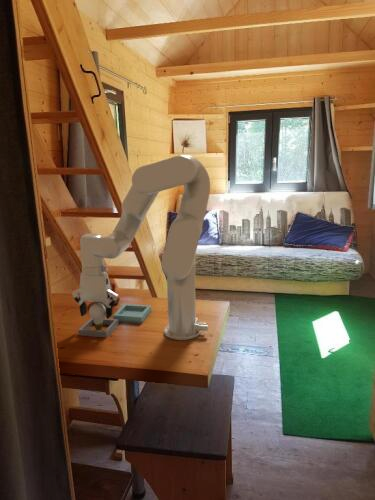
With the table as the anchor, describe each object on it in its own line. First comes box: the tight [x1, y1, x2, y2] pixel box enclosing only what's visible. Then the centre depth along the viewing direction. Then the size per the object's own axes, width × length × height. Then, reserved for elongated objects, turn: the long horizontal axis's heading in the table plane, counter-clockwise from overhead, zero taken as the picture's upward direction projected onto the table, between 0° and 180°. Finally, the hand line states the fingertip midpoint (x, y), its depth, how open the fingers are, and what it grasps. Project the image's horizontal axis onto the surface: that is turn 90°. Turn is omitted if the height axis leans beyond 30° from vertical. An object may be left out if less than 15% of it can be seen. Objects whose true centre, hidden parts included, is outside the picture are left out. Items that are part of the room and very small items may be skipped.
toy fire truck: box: [94, 281, 120, 308], centre depth 158 cm, size 7×12×10 cm, turn 48°
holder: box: [77, 317, 120, 338], centre depth 135 cm, size 10×10×2 cm
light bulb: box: [88, 302, 107, 330], centre depth 134 cm, size 6×6×10 cm
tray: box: [112, 303, 152, 324], centre depth 145 cm, size 11×11×2 cm
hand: (96, 315), depth 134 cm, fingers open, 9 cm apart
